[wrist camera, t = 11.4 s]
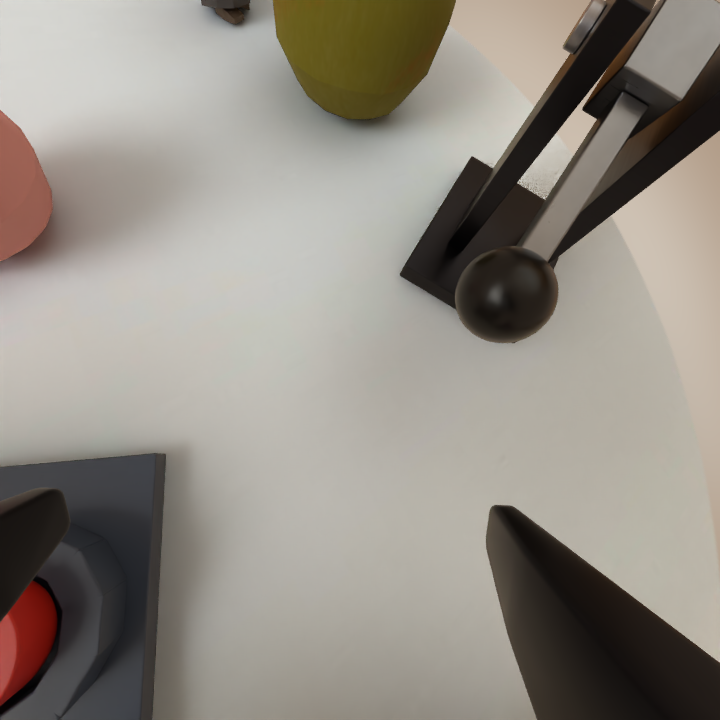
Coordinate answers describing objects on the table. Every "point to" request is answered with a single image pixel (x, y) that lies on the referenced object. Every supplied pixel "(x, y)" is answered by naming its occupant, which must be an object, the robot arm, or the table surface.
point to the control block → (98, 589)
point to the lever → (589, 167)
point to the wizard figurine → (228, 9)
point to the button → (26, 639)
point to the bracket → (568, 88)
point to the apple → (360, 49)
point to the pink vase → (20, 191)
